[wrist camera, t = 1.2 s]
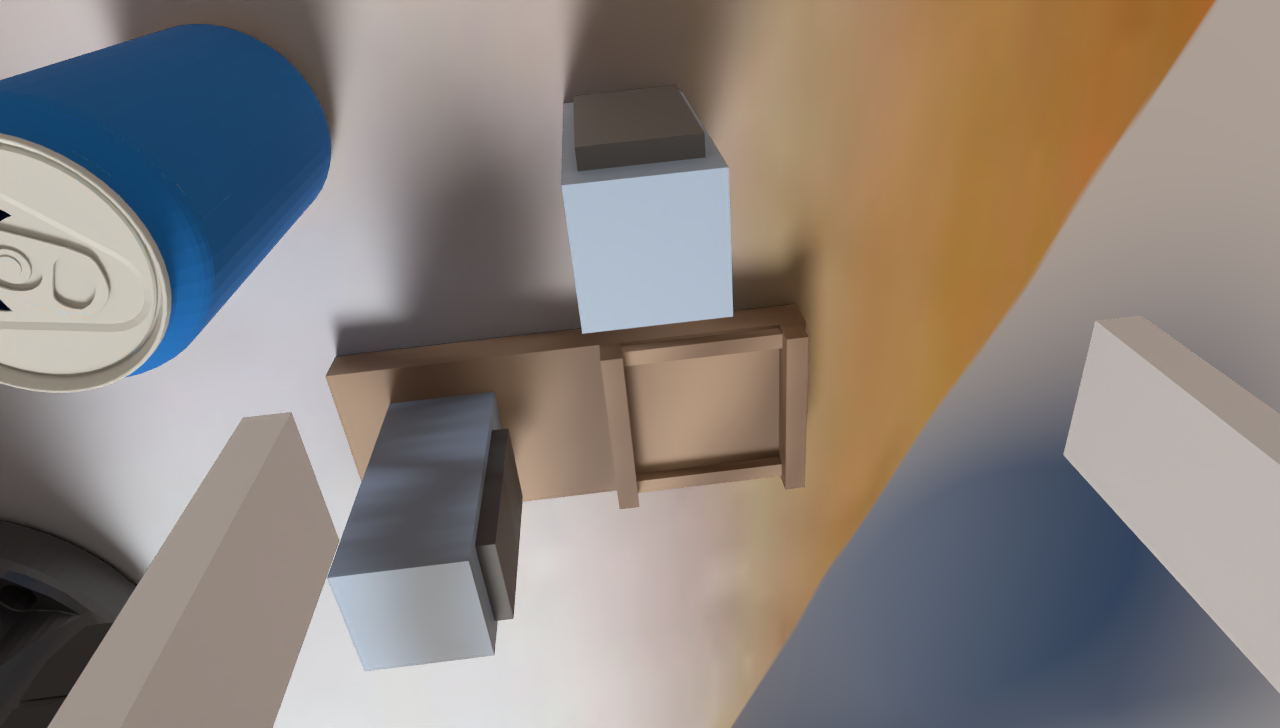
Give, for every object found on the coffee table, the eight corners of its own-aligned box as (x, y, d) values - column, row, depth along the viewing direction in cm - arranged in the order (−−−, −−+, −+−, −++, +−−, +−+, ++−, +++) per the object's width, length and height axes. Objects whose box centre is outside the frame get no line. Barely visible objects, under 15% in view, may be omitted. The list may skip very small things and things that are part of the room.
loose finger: (688, 204, 28) (733, 316, 21) (578, 217, 28) (582, 333, 21) (680, 71, 26) (728, 141, 18) (560, 84, 26) (557, 160, 18)
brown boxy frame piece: (381, 495, 34) (314, 710, 25) (335, 356, 30) (237, 547, 21) (793, 447, 34) (873, 640, 25) (795, 303, 31) (890, 469, 22)
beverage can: (134, -13, 24) (-203, 51, 13) (353, 64, 25) (205, 175, 15) (122, 185, 27) (-162, 364, 16) (320, 244, 28) (175, 440, 18)
